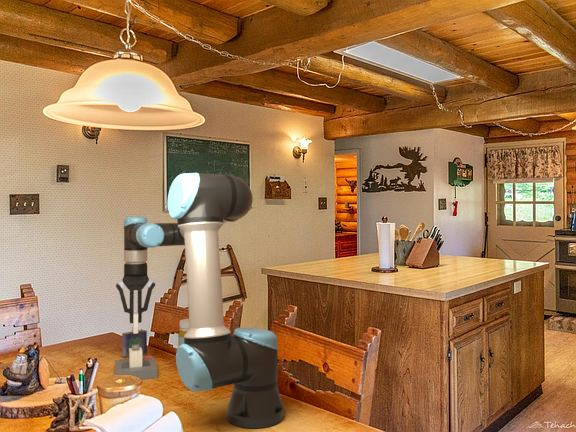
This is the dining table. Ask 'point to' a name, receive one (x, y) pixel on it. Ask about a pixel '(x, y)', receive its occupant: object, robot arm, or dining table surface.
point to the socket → (137, 368)
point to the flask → (134, 341)
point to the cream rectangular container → (135, 356)
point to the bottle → (183, 331)
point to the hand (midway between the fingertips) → (135, 332)
